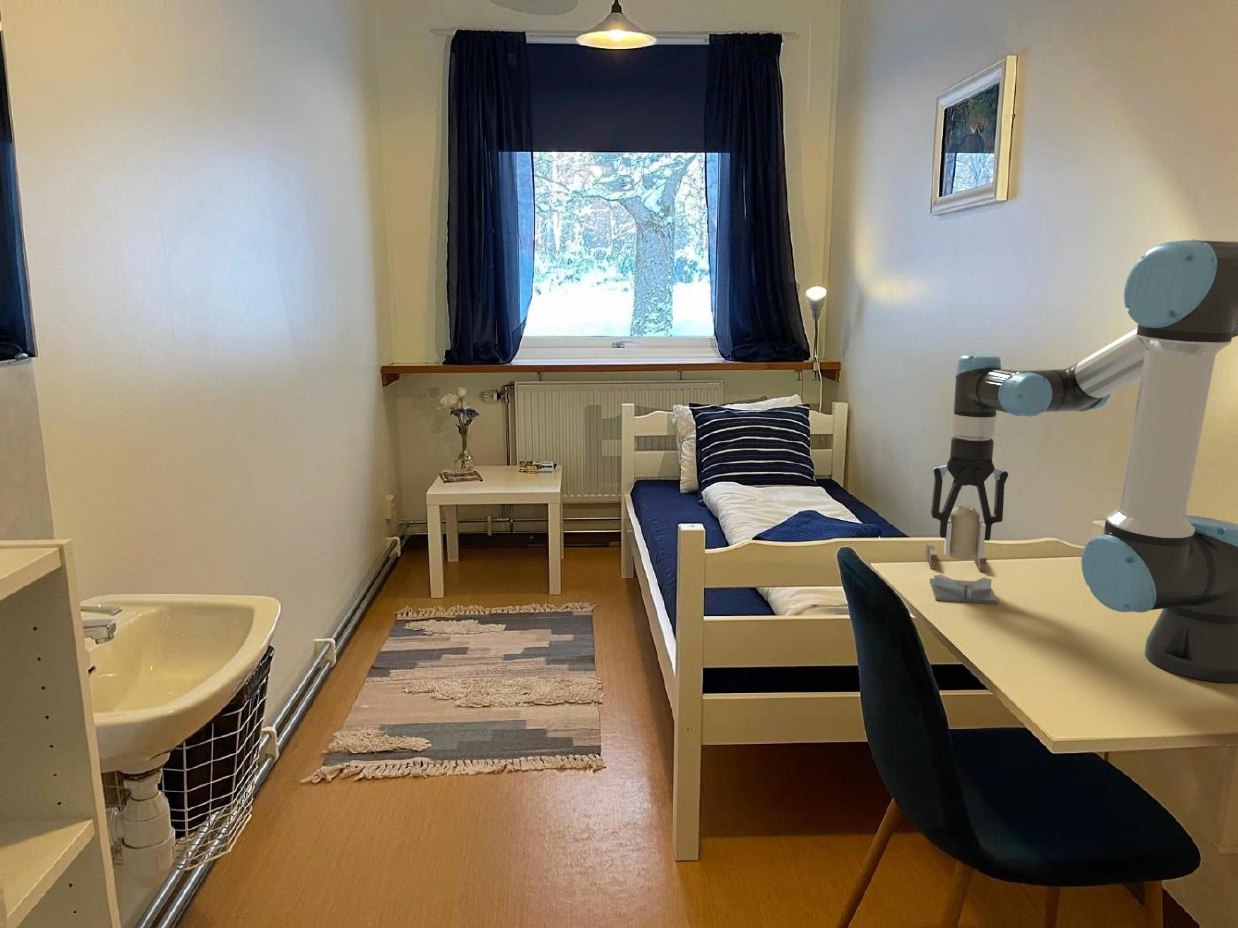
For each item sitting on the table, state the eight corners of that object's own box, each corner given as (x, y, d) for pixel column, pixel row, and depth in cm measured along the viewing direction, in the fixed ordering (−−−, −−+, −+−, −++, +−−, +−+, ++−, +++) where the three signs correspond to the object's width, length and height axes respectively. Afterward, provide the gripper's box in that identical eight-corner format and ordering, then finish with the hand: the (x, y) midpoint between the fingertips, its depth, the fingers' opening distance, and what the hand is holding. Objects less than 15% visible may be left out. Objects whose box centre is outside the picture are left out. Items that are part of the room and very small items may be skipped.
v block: (997, 604, 175) (998, 590, 174) (935, 600, 177) (936, 586, 176) (988, 586, 185) (989, 572, 185) (929, 582, 187) (930, 568, 187)
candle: (971, 552, 187) (975, 503, 185) (979, 560, 181) (984, 510, 179) (943, 551, 187) (947, 502, 185) (950, 559, 182) (954, 509, 180)
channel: (985, 571, 194) (986, 557, 193) (930, 568, 196) (931, 554, 196) (978, 558, 204) (979, 544, 203) (925, 554, 206) (926, 541, 205)
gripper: (1020, 435, 179) (1010, 552, 184) (919, 431, 183) (911, 546, 188) (1028, 442, 172) (1017, 564, 177) (923, 438, 176) (915, 557, 180)
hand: (963, 554), depth 182 cm, fingers closed on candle, 5 cm apart
